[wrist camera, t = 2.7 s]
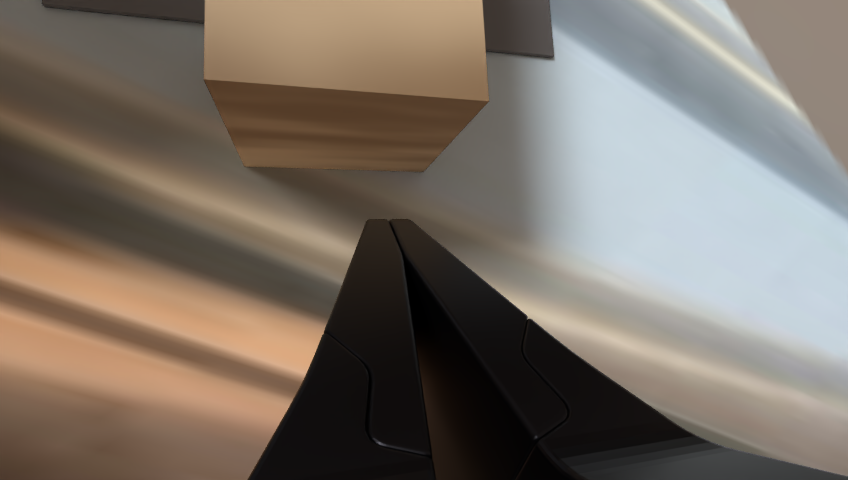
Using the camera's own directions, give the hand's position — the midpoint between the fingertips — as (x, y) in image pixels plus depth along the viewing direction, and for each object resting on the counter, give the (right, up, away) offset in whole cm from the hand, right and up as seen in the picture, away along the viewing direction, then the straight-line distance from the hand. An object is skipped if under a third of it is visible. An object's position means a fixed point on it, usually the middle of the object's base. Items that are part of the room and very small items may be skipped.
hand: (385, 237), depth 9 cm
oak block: (-3, +10, +12) cm, 16 cm away
